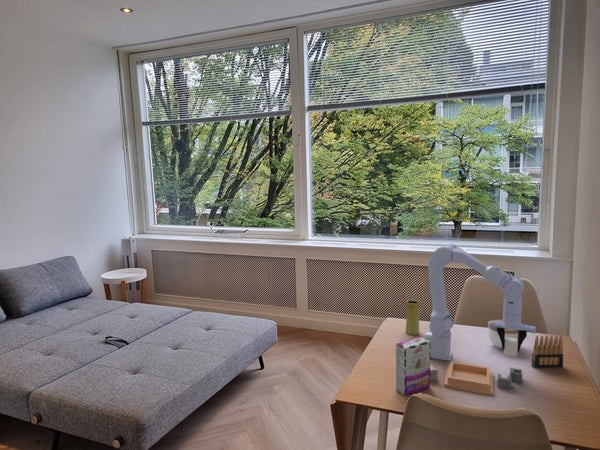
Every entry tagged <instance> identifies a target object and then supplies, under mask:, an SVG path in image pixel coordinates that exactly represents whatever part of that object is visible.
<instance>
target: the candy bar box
mask: <svg viewBox="0 0 600 450" xmlns="http://www.w3.org/2000/svg"><path fill="white" fill-rule="evenodd" d="M430 348H431V341H429V340H426V338H425V337H421V336H419V337H415V338H412V339H408V340H404V341H400V342H398V343H397V342H396V343H395V377H396V378H395V386H396V387H395V390H396V391H397V392H399V393H400V394H402V395H403V396H404V397H407V396H410V395H413V394H415V393H419V392H421V391H424V390H427V389H430V388H431V381H430V365H431V358H430Z"/></svg>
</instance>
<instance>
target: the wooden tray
mask: <svg viewBox="0 0 600 450" xmlns="http://www.w3.org/2000/svg"><path fill="white" fill-rule="evenodd" d="M493 376H494V375H493V371H491V367H488V366H482V365H475V364H470V363H464V362H458V361H452V360H450V363H449V364H447V367H446V372H445V378H444V381H443V382H444V384H443V387H444V388H449V389H450V388H451V389H457V390H460V391H468V392H471V393H476V394H483V395H487V396H488V395H489V396H494V377H493Z"/></svg>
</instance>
